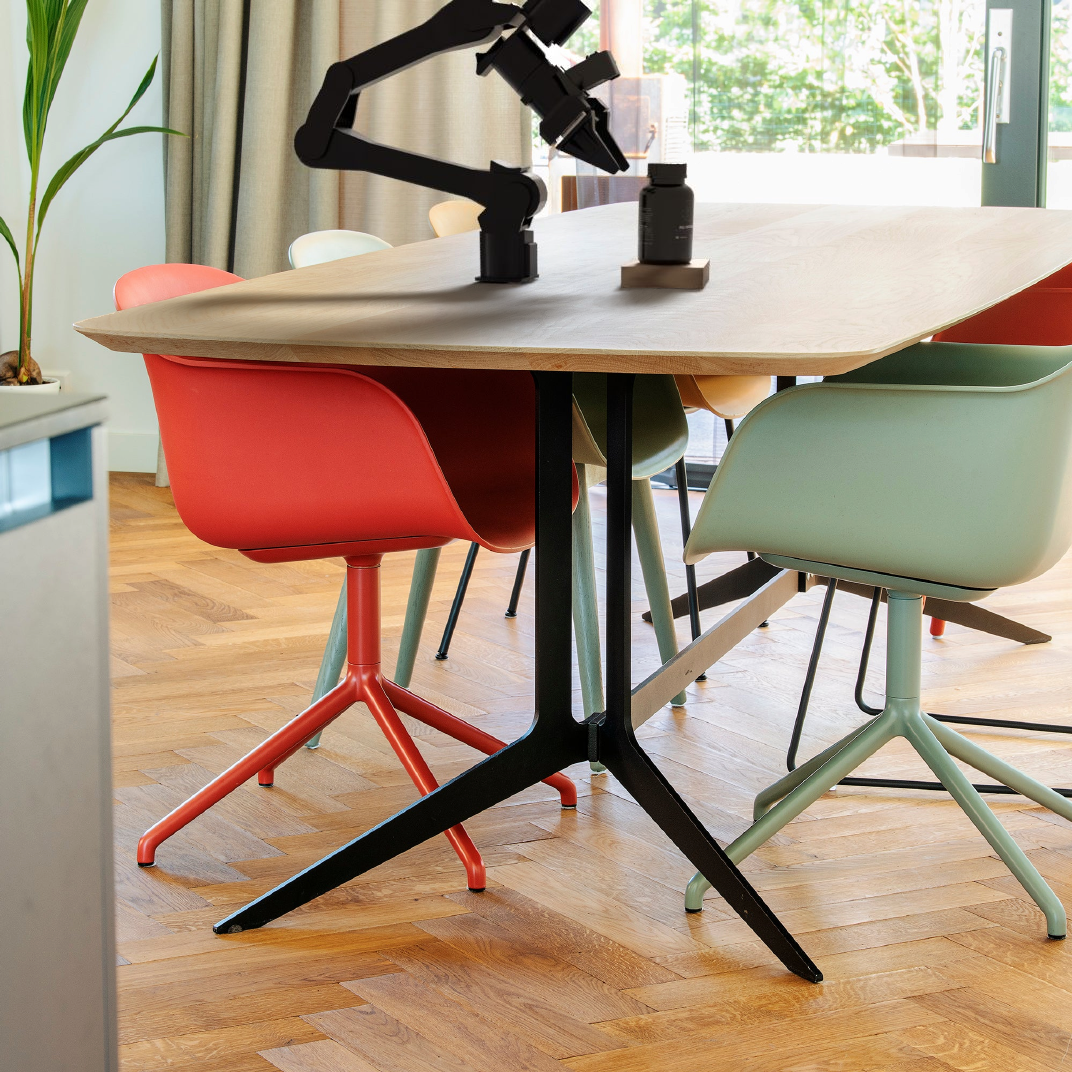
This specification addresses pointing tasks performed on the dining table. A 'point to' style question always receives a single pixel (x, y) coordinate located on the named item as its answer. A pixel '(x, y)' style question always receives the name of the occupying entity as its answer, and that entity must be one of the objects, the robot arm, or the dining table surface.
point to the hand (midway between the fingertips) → (622, 170)
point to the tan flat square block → (665, 274)
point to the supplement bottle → (665, 216)
